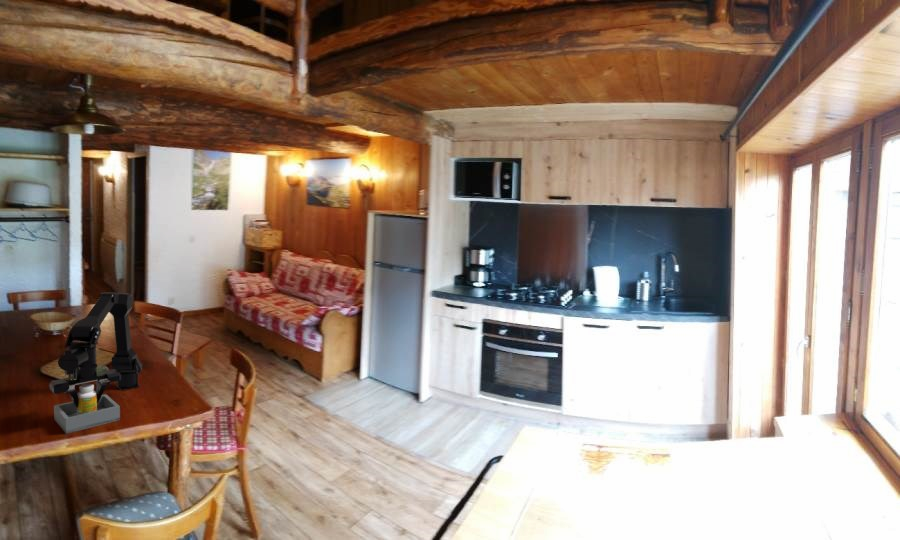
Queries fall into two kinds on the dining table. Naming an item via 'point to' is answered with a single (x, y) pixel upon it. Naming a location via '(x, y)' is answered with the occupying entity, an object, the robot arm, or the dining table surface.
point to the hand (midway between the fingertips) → (87, 404)
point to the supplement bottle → (87, 399)
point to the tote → (86, 415)
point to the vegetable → (99, 371)
